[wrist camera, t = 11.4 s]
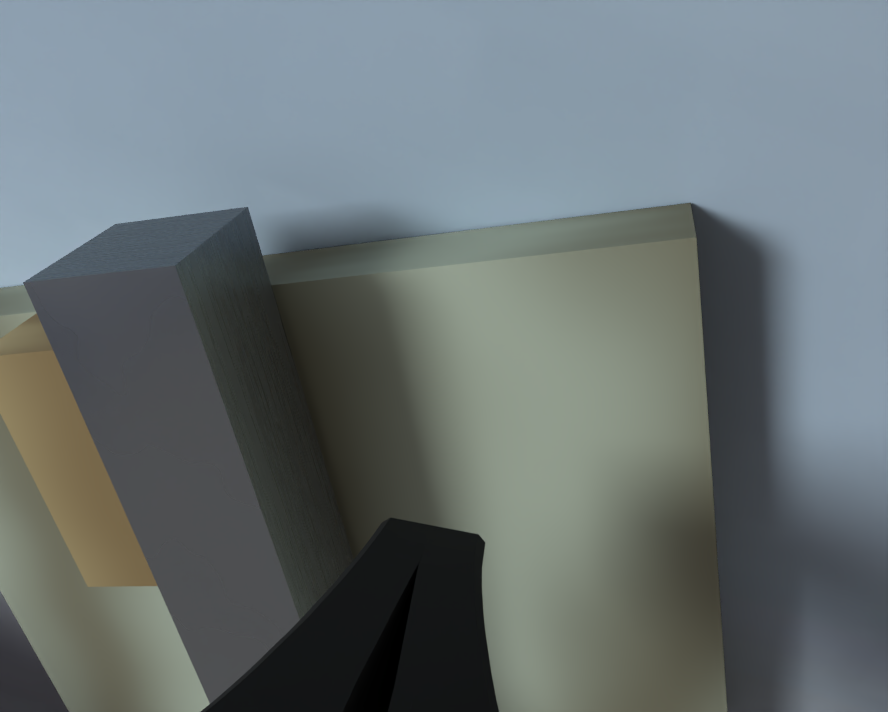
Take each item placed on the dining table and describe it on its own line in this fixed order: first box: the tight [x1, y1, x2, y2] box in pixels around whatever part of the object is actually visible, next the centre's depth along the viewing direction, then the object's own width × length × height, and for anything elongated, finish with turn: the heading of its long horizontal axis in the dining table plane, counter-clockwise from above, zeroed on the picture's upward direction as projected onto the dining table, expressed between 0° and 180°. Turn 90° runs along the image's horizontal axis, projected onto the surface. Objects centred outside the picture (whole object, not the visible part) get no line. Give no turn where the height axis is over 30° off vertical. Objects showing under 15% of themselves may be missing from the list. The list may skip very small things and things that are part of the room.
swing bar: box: [23, 207, 354, 703], centre depth 15 cm, size 14×3×3 cm, turn 10°
